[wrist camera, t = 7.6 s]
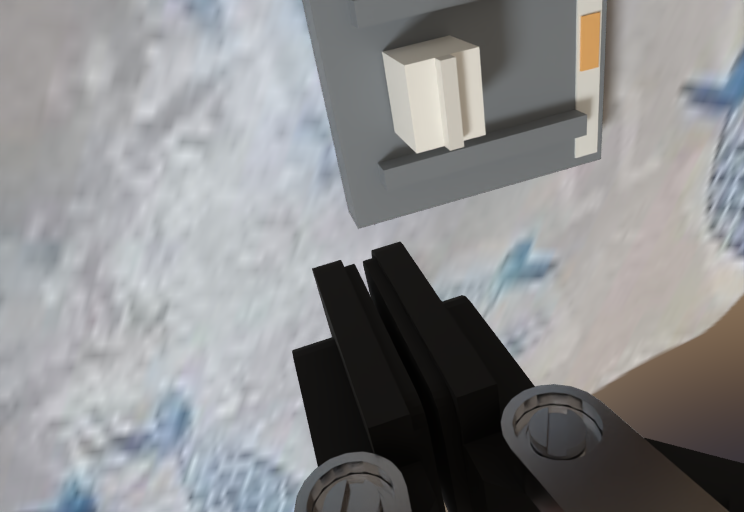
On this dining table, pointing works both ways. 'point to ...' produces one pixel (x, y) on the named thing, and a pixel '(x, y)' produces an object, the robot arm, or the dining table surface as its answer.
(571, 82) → the switch board
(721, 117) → the dining table surface
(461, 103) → the tab
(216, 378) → the dining table surface
